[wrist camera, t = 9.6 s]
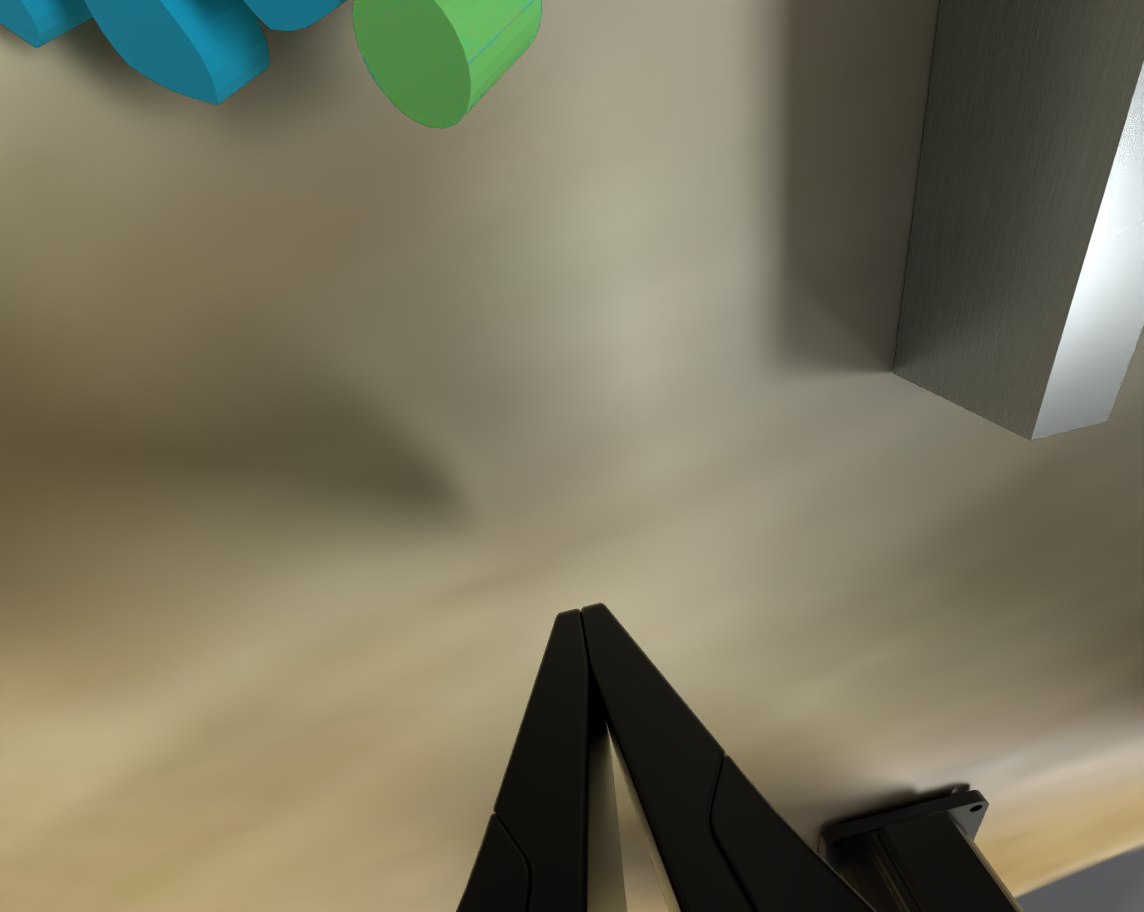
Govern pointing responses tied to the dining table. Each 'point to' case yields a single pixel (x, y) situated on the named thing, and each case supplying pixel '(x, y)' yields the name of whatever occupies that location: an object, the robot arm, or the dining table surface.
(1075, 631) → the dining table surface
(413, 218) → the dining table surface
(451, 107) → the gear
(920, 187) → the gear seat
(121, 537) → the dining table surface
